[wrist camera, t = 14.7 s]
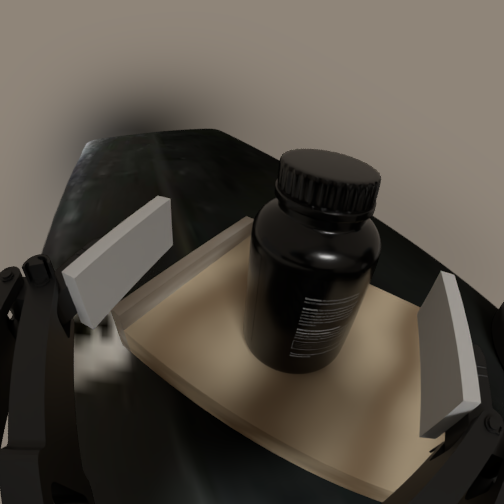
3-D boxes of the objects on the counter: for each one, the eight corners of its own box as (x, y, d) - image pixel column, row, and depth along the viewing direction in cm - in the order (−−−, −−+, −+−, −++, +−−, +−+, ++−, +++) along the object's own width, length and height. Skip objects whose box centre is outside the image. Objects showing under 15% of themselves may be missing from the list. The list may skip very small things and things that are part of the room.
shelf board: (449, 345, 23) (471, 315, 20) (404, 509, 11) (440, 496, 9) (241, 248, 32) (243, 215, 30) (120, 342, 21) (107, 306, 19)
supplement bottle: (347, 317, 22) (400, 164, 15) (328, 391, 17) (412, 216, 10) (262, 289, 24) (283, 134, 17) (224, 355, 18) (233, 167, 11)
